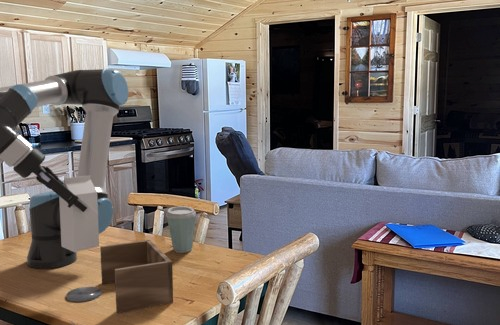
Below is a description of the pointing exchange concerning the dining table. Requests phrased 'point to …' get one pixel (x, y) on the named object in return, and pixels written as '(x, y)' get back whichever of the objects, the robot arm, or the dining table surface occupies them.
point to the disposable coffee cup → (181, 227)
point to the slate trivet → (83, 294)
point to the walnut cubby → (137, 274)
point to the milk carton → (79, 216)
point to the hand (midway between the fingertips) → (91, 213)
